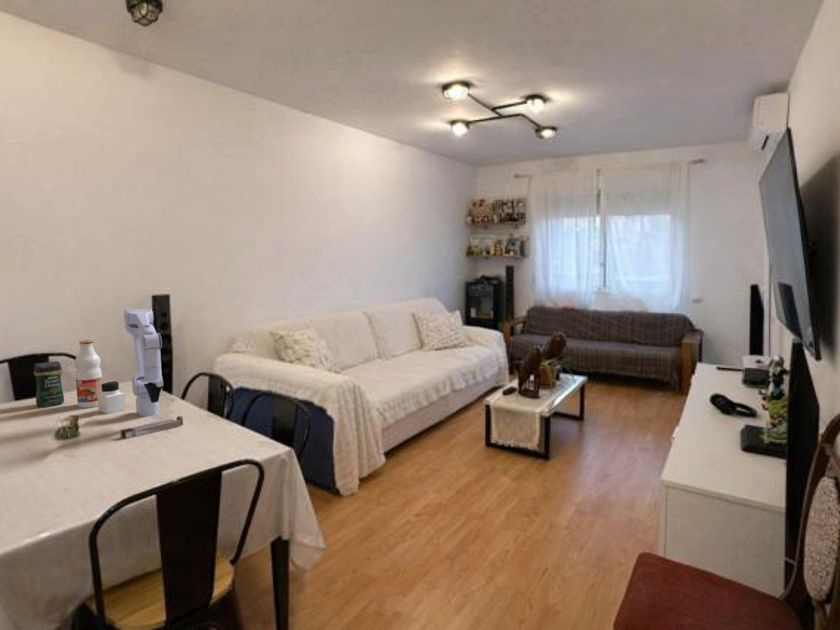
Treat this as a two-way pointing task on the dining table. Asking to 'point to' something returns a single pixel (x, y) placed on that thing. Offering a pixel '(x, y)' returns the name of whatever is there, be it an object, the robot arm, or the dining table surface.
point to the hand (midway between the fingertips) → (154, 402)
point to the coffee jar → (48, 384)
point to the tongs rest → (154, 428)
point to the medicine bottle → (110, 398)
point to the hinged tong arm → (143, 426)
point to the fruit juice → (88, 375)
